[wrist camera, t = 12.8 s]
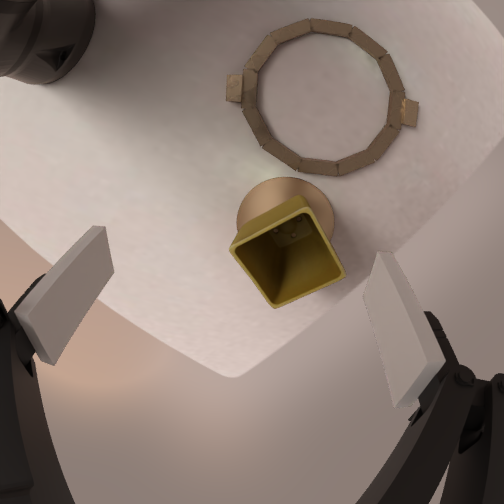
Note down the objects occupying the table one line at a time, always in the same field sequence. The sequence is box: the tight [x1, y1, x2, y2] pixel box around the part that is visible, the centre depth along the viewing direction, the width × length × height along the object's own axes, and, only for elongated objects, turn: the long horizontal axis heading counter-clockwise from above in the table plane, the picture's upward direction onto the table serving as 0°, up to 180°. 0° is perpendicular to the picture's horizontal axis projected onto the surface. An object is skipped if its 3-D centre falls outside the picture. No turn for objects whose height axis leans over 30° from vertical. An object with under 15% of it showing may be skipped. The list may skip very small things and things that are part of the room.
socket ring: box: [226, 18, 419, 176], centre depth 29 cm, size 21×18×2 cm
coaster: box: [237, 177, 334, 241], centre depth 37 cm, size 12×12×1 cm
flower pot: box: [229, 195, 346, 309], centre depth 33 cm, size 9×9×9 cm
